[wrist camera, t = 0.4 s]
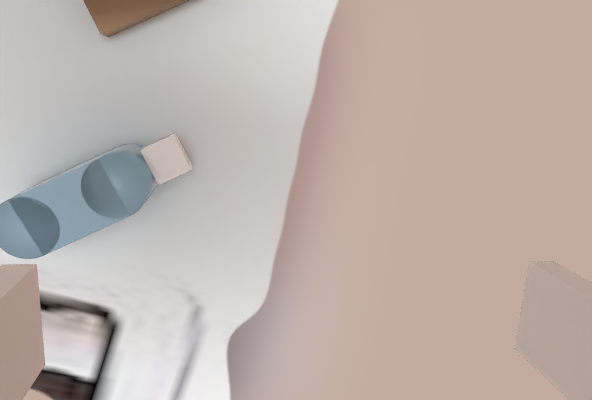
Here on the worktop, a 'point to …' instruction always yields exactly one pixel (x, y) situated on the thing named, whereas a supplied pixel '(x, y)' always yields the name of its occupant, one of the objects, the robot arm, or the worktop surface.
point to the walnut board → (125, 12)
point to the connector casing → (88, 197)
